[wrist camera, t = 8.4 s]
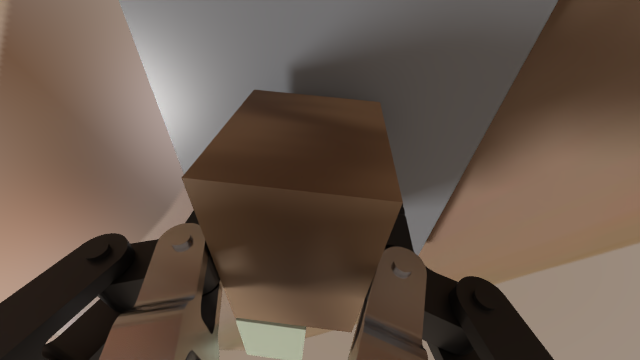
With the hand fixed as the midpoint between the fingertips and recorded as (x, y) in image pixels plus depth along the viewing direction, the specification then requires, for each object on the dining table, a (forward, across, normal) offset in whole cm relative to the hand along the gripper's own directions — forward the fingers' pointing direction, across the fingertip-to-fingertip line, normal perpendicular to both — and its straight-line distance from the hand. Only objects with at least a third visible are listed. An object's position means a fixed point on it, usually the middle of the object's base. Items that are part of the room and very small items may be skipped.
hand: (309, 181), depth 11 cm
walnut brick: (+1, 0, 0) cm, 1 cm away
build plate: (+3, 0, 0) cm, 3 cm away
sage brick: (+3, +2, +14) cm, 14 cm away
